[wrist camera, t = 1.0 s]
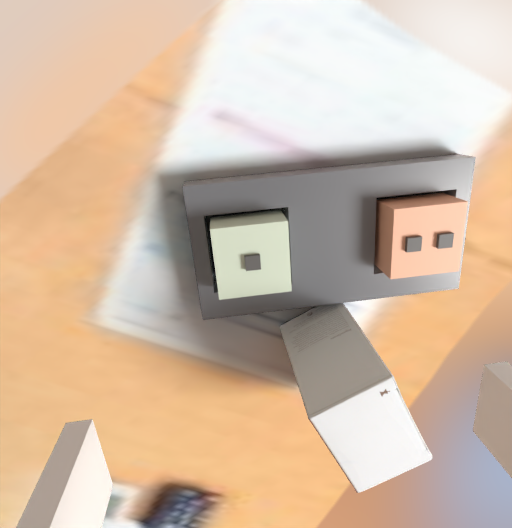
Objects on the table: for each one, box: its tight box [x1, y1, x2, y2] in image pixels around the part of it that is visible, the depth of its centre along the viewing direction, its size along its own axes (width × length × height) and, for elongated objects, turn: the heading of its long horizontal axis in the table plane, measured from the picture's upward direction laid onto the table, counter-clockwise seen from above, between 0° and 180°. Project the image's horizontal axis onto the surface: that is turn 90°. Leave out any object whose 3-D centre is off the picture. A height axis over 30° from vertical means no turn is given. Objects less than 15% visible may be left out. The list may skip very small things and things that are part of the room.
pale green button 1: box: [210, 210, 292, 300], centre depth 26 cm, size 5×5×3 cm
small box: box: [280, 303, 432, 493], centre depth 28 cm, size 8×6×10 cm
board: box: [182, 154, 476, 320], centre depth 28 cm, size 20×10×2 cm, turn 94°
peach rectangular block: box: [374, 193, 468, 279], centre depth 27 cm, size 5×5×3 cm
